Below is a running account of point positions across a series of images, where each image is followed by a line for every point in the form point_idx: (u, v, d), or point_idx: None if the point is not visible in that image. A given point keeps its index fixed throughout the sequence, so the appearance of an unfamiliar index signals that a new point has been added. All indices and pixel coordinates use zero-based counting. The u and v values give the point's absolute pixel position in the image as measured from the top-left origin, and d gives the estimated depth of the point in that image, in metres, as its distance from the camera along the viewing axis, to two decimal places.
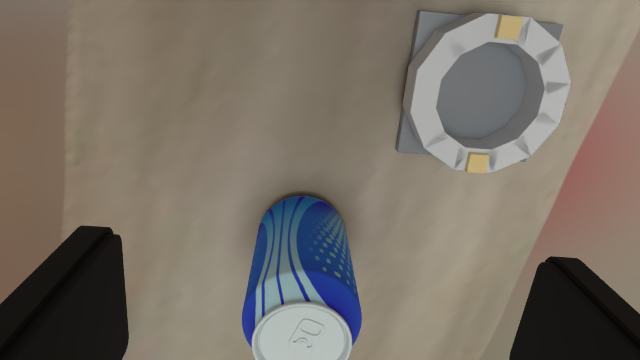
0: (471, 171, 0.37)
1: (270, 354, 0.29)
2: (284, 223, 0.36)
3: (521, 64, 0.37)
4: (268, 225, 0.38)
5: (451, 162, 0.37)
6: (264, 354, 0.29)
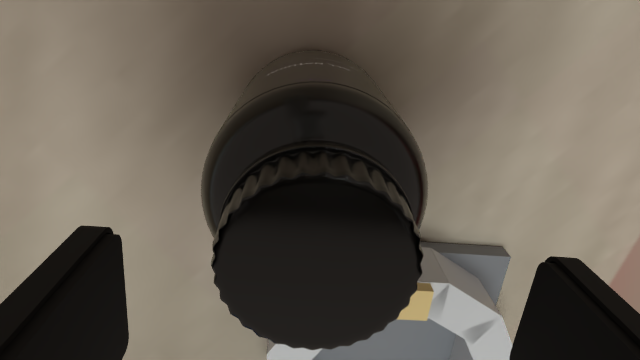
0: None
1: None
2: None
3: None
4: None
5: None
6: None
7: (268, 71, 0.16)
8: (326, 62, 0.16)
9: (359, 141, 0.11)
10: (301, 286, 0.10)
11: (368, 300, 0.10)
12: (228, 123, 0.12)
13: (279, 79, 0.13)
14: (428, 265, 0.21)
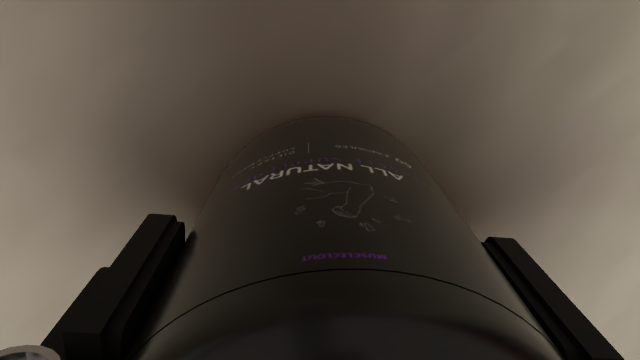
0: None
1: None
2: None
3: None
4: None
5: None
6: None
7: (250, 171, 0.09)
8: (357, 160, 0.08)
9: None
10: None
11: None
12: None
13: (265, 229, 0.06)
14: None
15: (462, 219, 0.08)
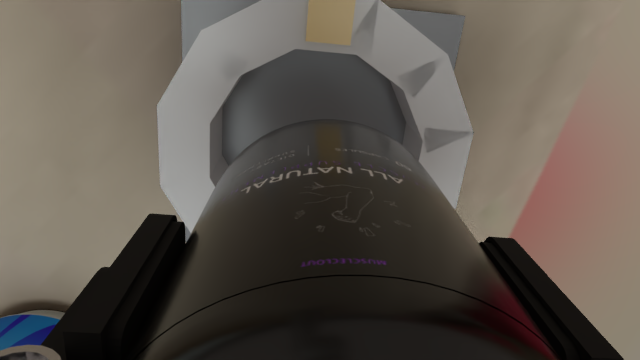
0: None
1: None
2: None
3: (391, 90, 0.20)
4: None
5: None
6: None
7: (250, 174, 0.09)
8: (357, 163, 0.08)
9: None
10: None
11: None
12: None
13: (265, 233, 0.06)
14: None
15: (462, 222, 0.08)
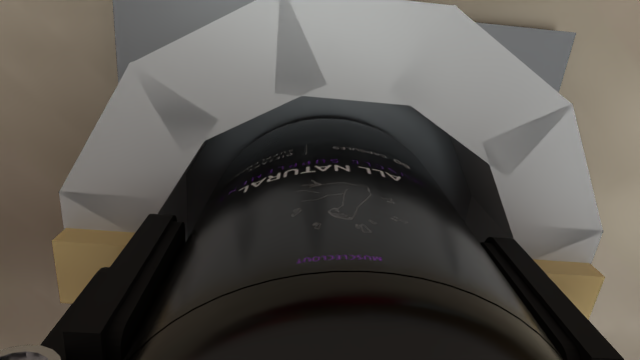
0: None
1: None
2: None
3: None
4: None
5: None
6: None
7: (248, 174, 0.09)
8: (355, 161, 0.08)
9: None
10: None
11: None
12: None
13: (261, 231, 0.06)
14: None
15: (461, 219, 0.08)
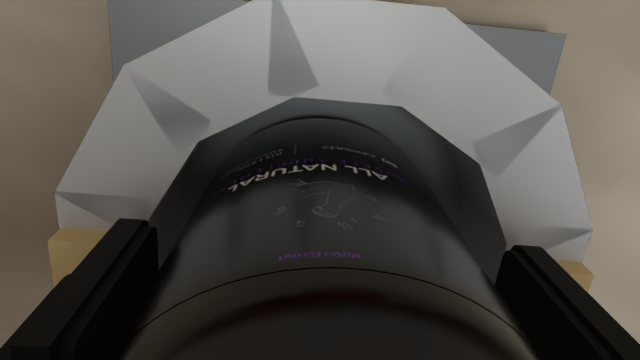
0: None
1: None
2: None
3: None
4: None
5: None
6: None
7: (238, 173, 0.09)
8: (342, 160, 0.09)
9: None
10: None
11: None
12: None
13: (246, 229, 0.06)
14: None
15: (446, 218, 0.09)
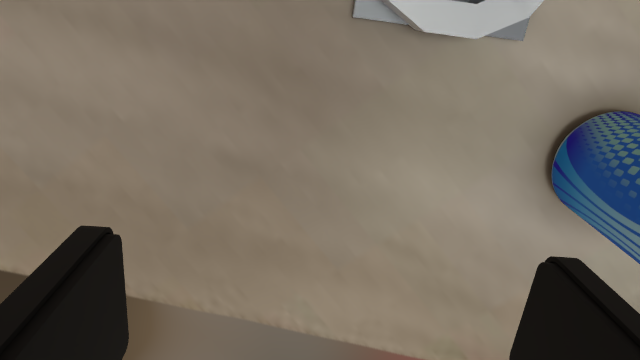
0: None
1: None
2: (588, 207, 0.30)
3: None
4: (585, 218, 0.31)
5: None
6: None
7: None
8: None
9: None
10: None
11: None
12: None
13: None
14: None
15: None
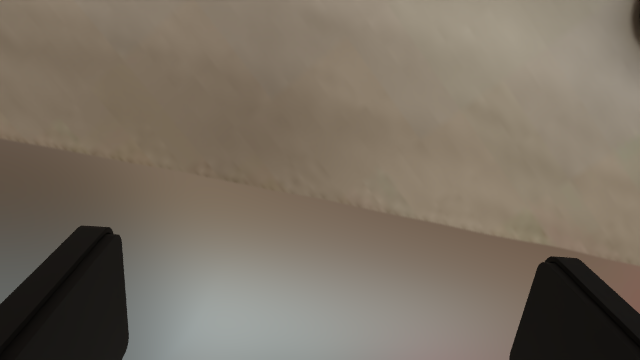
0: None
1: None
2: None
3: None
4: None
5: None
6: None
7: None
8: None
9: None
10: None
11: None
12: None
13: None
14: None
15: None
